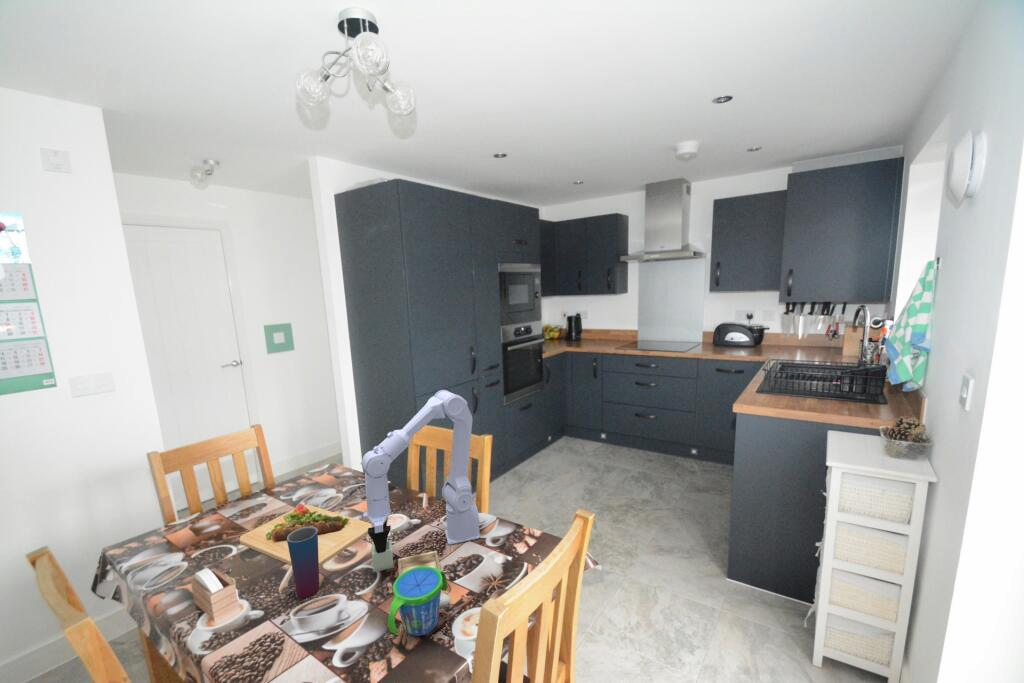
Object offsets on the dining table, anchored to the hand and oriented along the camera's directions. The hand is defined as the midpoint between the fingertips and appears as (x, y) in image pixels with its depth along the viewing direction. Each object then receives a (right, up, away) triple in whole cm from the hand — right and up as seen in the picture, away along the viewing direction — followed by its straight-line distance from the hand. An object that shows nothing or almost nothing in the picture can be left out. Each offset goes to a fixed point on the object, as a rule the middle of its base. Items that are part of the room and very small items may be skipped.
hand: (381, 543), depth 112 cm
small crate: (0, -6, +1) cm, 6 cm away
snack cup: (+15, -8, -21) cm, 27 cm away
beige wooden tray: (+12, -6, -5) cm, 14 cm away
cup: (-16, -8, -8) cm, 19 cm away
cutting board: (-28, -6, +17) cm, 34 cm away
